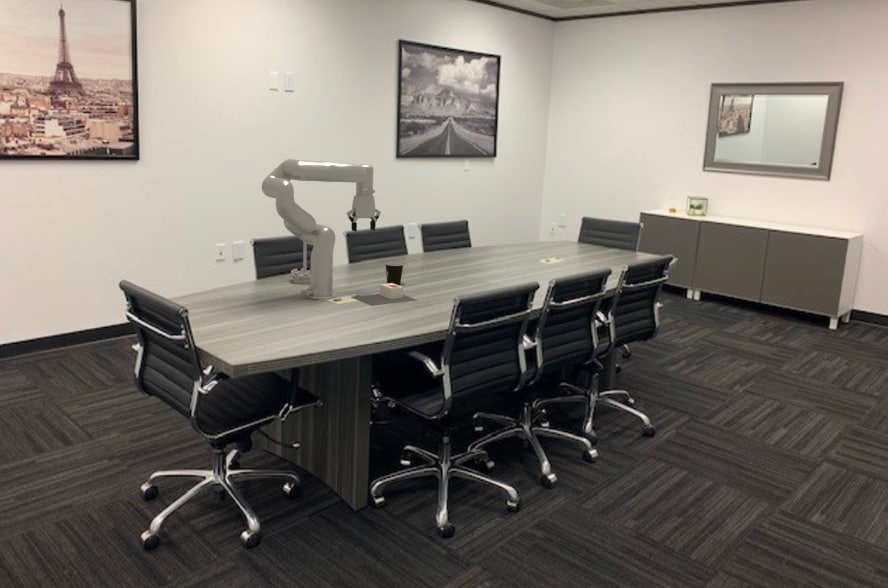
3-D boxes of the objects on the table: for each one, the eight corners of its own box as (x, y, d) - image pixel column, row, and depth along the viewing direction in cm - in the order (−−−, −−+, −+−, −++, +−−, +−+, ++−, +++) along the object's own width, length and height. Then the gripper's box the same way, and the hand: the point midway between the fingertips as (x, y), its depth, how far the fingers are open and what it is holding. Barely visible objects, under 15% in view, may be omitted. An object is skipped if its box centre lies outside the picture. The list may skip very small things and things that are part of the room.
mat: (371, 307, 307) (371, 305, 306) (350, 298, 320) (350, 297, 320) (418, 301, 321) (418, 300, 321) (395, 293, 335) (395, 291, 335)
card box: (379, 295, 327) (380, 284, 325) (391, 293, 330) (392, 282, 329) (390, 299, 320) (391, 288, 318) (402, 297, 324) (403, 286, 322)
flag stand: (321, 280, 356) (322, 219, 349) (314, 285, 343) (314, 222, 336) (295, 278, 357) (295, 217, 350) (287, 283, 344) (287, 220, 338)
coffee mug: (401, 286, 349) (402, 266, 347) (383, 285, 350) (384, 265, 347) (403, 281, 361) (404, 262, 359) (386, 280, 361) (387, 261, 359)
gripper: (376, 191, 333) (375, 228, 337) (343, 192, 323) (342, 230, 327) (385, 193, 328) (384, 230, 331) (351, 193, 317) (351, 232, 321)
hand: (363, 230), depth 329 cm, fingers open, 9 cm apart
